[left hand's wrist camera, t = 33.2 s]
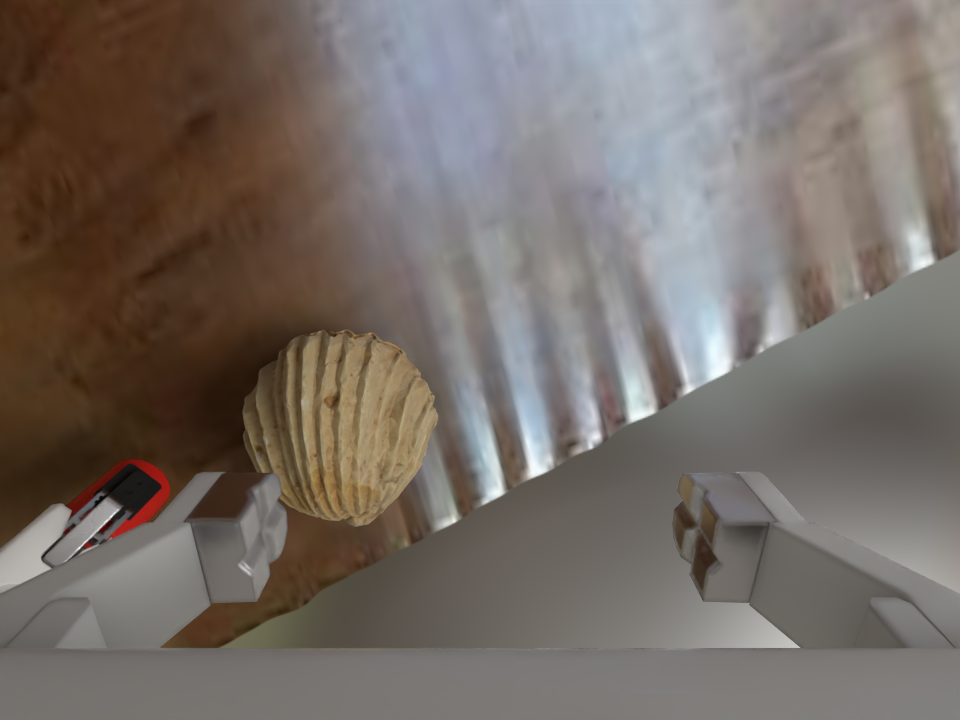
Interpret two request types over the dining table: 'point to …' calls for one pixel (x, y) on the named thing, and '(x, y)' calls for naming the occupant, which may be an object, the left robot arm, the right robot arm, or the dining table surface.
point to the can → (143, 514)
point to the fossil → (339, 424)
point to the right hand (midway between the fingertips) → (123, 498)
